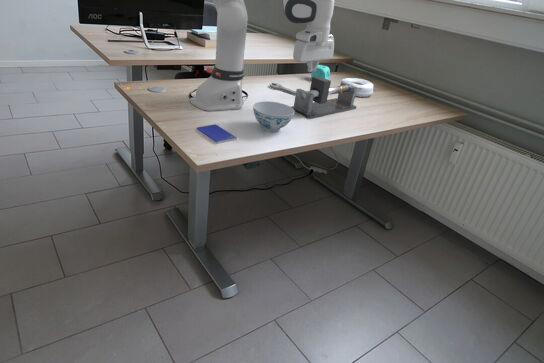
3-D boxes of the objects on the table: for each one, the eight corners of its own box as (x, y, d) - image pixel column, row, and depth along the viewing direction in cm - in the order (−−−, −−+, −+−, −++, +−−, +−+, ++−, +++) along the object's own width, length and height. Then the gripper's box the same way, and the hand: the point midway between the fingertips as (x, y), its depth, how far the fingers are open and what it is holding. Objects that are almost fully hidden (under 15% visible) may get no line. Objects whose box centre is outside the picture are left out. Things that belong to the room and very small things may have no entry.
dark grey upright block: (320, 104, 159) (324, 81, 154) (308, 98, 163) (312, 76, 158) (326, 103, 161) (331, 80, 156) (314, 97, 165) (318, 76, 161)
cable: (370, 91, 206) (373, 80, 203) (372, 100, 191) (375, 88, 188) (339, 85, 208) (341, 74, 205) (338, 94, 193) (341, 82, 190)
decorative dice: (328, 81, 212) (330, 67, 208) (323, 84, 205) (326, 69, 201) (314, 78, 214) (317, 64, 210) (310, 81, 208) (312, 66, 204)
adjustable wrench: (313, 101, 178) (314, 97, 177) (305, 103, 174) (305, 99, 173) (275, 85, 192) (275, 82, 191) (266, 87, 187) (266, 83, 186)
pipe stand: (310, 119, 154) (314, 96, 149) (289, 109, 161) (293, 87, 156) (355, 108, 175) (361, 88, 170) (335, 100, 182) (340, 80, 177)
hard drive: (237, 137, 127) (216, 123, 134) (216, 141, 122) (196, 127, 129) (236, 141, 127) (216, 127, 135) (216, 145, 122) (196, 131, 130)
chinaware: (243, 122, 141) (245, 103, 137) (275, 118, 149) (278, 100, 145) (265, 138, 131) (268, 117, 127) (299, 133, 139) (302, 113, 135)
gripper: (328, 32, 152) (322, 67, 159) (293, 34, 139) (288, 71, 146) (340, 35, 148) (333, 71, 155) (305, 37, 135) (299, 76, 142)
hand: (311, 71), depth 150 cm, fingers closed
